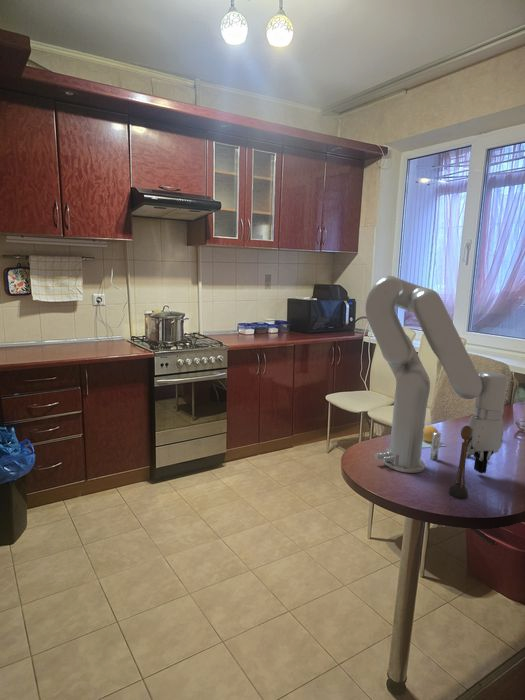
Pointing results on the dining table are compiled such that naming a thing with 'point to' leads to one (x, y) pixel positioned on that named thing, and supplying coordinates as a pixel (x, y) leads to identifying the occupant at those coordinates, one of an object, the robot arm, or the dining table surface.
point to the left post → (435, 446)
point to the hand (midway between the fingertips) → (479, 471)
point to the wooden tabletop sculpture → (461, 467)
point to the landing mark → (429, 444)
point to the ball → (429, 433)
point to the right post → (468, 455)
